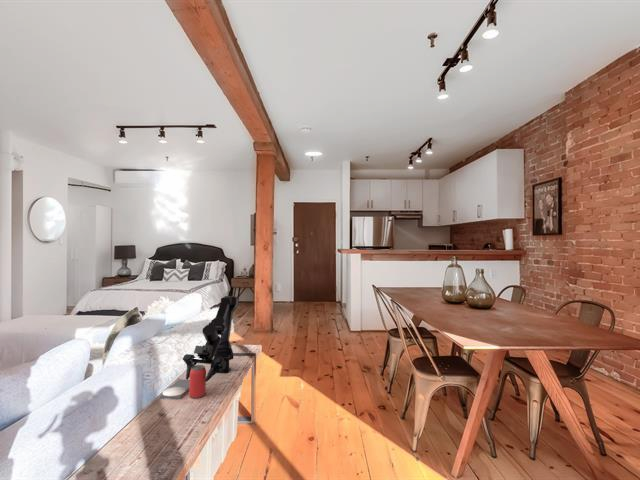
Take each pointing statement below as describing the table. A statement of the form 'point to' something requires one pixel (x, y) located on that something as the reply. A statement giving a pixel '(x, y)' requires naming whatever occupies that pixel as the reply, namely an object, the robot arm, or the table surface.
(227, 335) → the robot arm
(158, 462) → the table surface
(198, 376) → the beer can
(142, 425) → the table surface
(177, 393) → the charging dock
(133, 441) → the table surface
